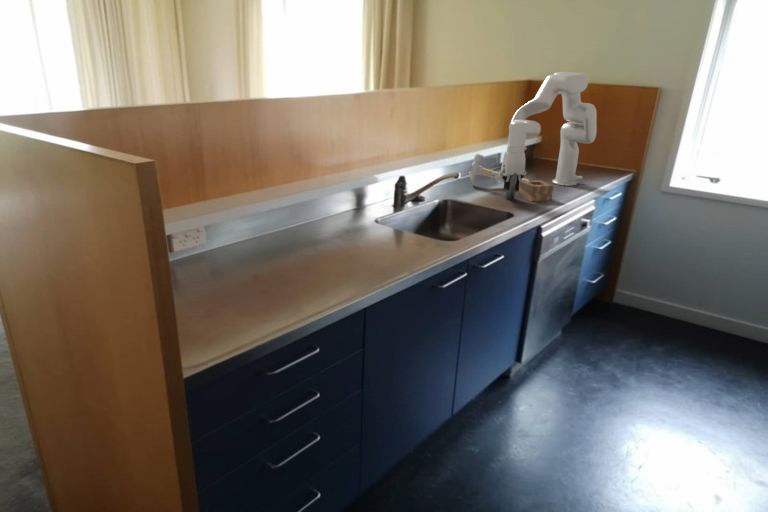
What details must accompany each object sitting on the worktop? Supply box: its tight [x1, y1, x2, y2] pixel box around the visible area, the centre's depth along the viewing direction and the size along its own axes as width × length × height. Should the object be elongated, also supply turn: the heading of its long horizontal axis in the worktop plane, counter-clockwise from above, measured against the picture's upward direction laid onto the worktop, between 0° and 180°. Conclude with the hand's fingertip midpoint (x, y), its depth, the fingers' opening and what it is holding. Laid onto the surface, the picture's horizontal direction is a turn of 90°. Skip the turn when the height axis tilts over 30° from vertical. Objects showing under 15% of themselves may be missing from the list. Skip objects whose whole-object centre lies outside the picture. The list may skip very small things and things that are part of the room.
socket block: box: [518, 179, 554, 202], centre depth 251 cm, size 11×11×7 cm
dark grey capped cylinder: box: [504, 172, 518, 201], centre depth 246 cm, size 4×4×14 cm
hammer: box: [468, 153, 530, 188], centre depth 268 cm, size 16×5×30 cm
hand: (511, 188), depth 247 cm, fingers closed on dark grey capped cylinder, 4 cm apart
